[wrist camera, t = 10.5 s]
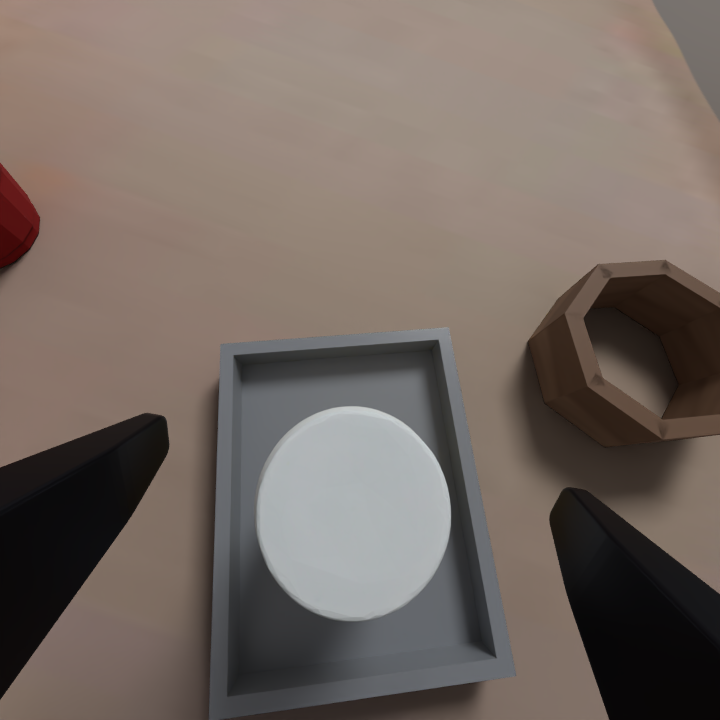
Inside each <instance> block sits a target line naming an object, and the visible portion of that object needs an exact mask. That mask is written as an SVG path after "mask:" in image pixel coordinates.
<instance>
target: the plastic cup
mask: <svg viewBox="0 0 720 720" xmlns="http://www.w3.org/2000/svg"><path fill="white" fill-rule="evenodd" d="M39 222H40V217H39V215H38V213H37V211H36V210H35V208H34V206H33V204H32V203H31V201H30V199H29V198H28V196H27V194H26V193H25V192H24V191H23V189H22V188H21V187H20V186H19V185H18V183H17V182H16V181H15V180H14V179H13V177H12V176H11V175H10V174H9V173H8V171H7V170H6V169H5V168H4V167H3V165H2V164H1V163H0V268H2V267H4V266H6V265H8V264H11V263H13V262H15V261H16V260H17V259H18V258H19V257H20V256H21V255H23V254H24V253H25V252H26V251H27V250H28V249H30V247H31V245H32V244H33V242H34V240H35V238H36V237H37V235H38V233H39Z"/></svg>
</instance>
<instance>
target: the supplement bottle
mask: <svg viewBox="0 0 720 720" xmlns="http://www.w3.org/2000/svg"><path fill="white" fill-rule="evenodd" d="M254 520H255V530H256V535H257V539H258V543H259V546H260V549H261V553H262V556H263V558H264V561H265V563H266V566H267V567H268V569H269V571H270V573H271V574H272V576H273V577H274V579H275V580H276V582H277V583H278V584H279V586H280V587H281V588H282V589H283V590H284V591H285V592H286V593H287V594H288V595H289V596H290V597H291V599H293V600H294V601H295V602H297V603H298V604H299V605H301V606H302V607H304V608H305V609H307V610H309V611H311V612H313V613H315V614H317V615H319V616H322V617H325V618H328V619H332V620H337V621H344V622H358V621H368V620H373V619H377V618H381V617H384V616H386V615H388V614H390V613H392V612H395V611H397V610H399V609H400V608H402V607H403V606H405V605H406V604H408V603H409V602H410V601H411V600H413V599H414V598H415V597H416V596H417V595H418V594H419V593H420V592H421V591H422V590H423V589H424V588H425V587H426V585H427V584H428V583H429V582H430V580H431V579H432V577H433V576H434V574H435V573H436V571H437V569H438V567H439V565H440V563H441V561H442V558H443V556H444V553H445V550H446V547H447V544H448V539H449V534H450V528H451V505H450V497H449V492H448V487H447V483H446V480H445V477H444V474H443V472H442V470H441V467H440V465H439V463H438V461H437V459H436V458H435V456H434V454H433V453H432V451H431V450H430V449H429V448H428V446H427V445H426V444H425V443H424V442H423V441H422V439H421V438H420V437H419V436H418V435H417V434H416V433H415V432H414V431H413V430H412V429H411V428H410V427H408V426H407V425H406V424H404V423H403V422H402V421H400V420H398V419H397V418H395V417H393V416H391V415H389V414H387V413H384V412H381V411H379V410H375V409H372V408H367V407H359V406H345V407H336V408H331V409H327V410H324V411H321V412H318V413H316V414H314V415H311V416H310V417H308V418H306V419H304V420H302V421H301V422H299V423H298V424H297V425H295V426H294V427H293V428H292V429H290V430H289V431H288V432H287V433H286V434H285V435H284V436H283V437H282V438H281V439H280V440H279V442H278V443H277V444H276V446H275V447H274V448H273V450H272V452H271V453H270V455H269V456H268V458H267V460H266V462H265V464H264V466H263V469H262V471H261V474H260V477H259V480H258V484H257V488H256V493H255V501H254Z"/></svg>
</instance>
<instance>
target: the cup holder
mask: <svg viewBox="0 0 720 720" xmlns="http://www.w3.org/2000/svg"><path fill="white" fill-rule="evenodd" d="M607 307H615V308H617V309H618V310H620V311H621V312H623V313H624V314H626V315H627V316H629V317H631V318H632V319H634V320H635V321H637V322H638V323H640V324H641V325H643V326H644V327H646V328H647V329H649V330H650V331H652V332H654V333H655V334H657V335H658V336H660V339H661V341H662V344H663V346H664V349H665V351H666V354H667V356H668V359H669V361H670V364H671V366H672V369H673V371H674V374H675V376H676V379H677V381H678V384H679V386H678V388H677V390H676V392H675V394H674V396H673V397H672V399H671V401H670V403H669V405H668V407H667V409H666V411H665V413H664V415H663V417H662V419H661V418H660V417H658V416H657V415H655V414H654V413H653V412H651V411H650V410H648V409H647V408H645V407H644V406H642V405H641V404H640V403H638V402H637V401H635V400H634V399H632V398H631V397H630V396H628V395H627V394H625V393H624V392H622V391H621V390H619V389H618V388H617V387H615V386H614V385H612V384H611V383H609V382H608V381H607V380H605V379H604V378H603V377H602V374H601V371H600V368H599V365H598V362H597V359H596V356H595V353H594V350H593V347H592V344H591V341H590V338H589V335H588V332H587V329H586V326H585V323H584V320H583V318H584V316H585V315H586V313H587V312H588V310H589V309H593V308H607ZM528 343H529V346H530V350H531V354H532V358H533V361H534V365H535V369H536V372H537V376H538V380H539V384H540V387H541V391H542V395H543V399H544V402H545V404H546V405H548V406H549V407H551V408H552V409H553V410H555V411H556V412H557V413H559V414H560V415H562V416H563V417H564V418H566V419H567V420H568V421H570V422H571V423H572V424H574V425H575V426H577V427H578V428H579V429H581V430H582V431H583V432H585V433H586V434H587V435H589V436H590V437H592V438H593V439H594V440H596V441H597V442H598V443H600V444H601V445H602V446H604V447H612V446H621V445H631V444H641V443H651V442H660V441H672V440H680V439H688V438H696V437H704V436H713V435H720V293H719V292H717V291H716V290H714V289H712V288H711V287H709V286H707V285H706V284H704V283H702V282H701V281H699V280H698V279H696V278H694V277H693V276H691V275H689V274H688V273H686V272H684V271H683V270H681V269H679V268H678V267H676V266H675V265H673V264H671V263H670V262H668V261H666V260H657V261H641V262H625V263H609V264H598V265H597V266H596V267H594V268H593V269H592V270H591V271H590V272H589V273H587V274H586V275H585V276H584V277H583V278H582V279H580V280H579V281H578V282H577V283H576V284H575V285H573V286H572V287H571V288H570V289H569V290H568V291H566V292H565V293H564V294H563V295H562V296H561V297H559V298H558V300H557V301H556V303H555V304H554V305H553V307H552V308H551V310H550V311H549V312H548V314H547V315H546V317H545V318H544V319H543V321H542V322H541V324H540V325H539V326H538V328H537V329H536V331H535V332H534V334H533V335H532V336H531V338H530V339H529V340H528Z"/></svg>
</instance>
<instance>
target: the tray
mask: <svg viewBox="0 0 720 720" xmlns="http://www.w3.org/2000/svg"><path fill="white" fill-rule="evenodd" d="M345 406H359V407H367V408H372V409H375V410H379V411H381V412H384V413H387V414H389V415H391V416H393V417H395V418H397V419H398V420H400V421H402V422H403V423H404V424H406V425H407V426H408V427H410V428H411V429H412V430H413V431H414V432H415V433H416V434H417V435H418V436H419V437H420V438H421V439H422V441H423V442H424V443H425V444H426V445H427V446H428V448H429V449H430V450H431V451H432V453H433V454H434V456H435V458H436V459H437V461H438V463H439V465H440V467H441V470H442V472H443V474H444V477H445V480H446V483H447V487H448V492H449V497H450V505H451V528H450V534H449V539H448V544H447V547H446V550H445V553H444V556H443V558H442V561H441V563H440V565H439V567H438V569H437V571H436V573H435V574H434V576H433V577H432V579H431V580H430V582H429V583H428V584H427V585H426V587H425V588H424V589H423V590H422V591H421V592H420V593H419V594H418V595H417V596H416V597H415V598H414V599H413V600H411V601H410V602H409V603H408V604H406V605H405V606H403V607H402V608H400V609H399V610H397V611H395V612H392V613H390V614H388V615H386V616H384V617H381V618H377V619H373V620H368V621H358V622H344V621H337V620H332V619H328V618H325V617H322V616H319V615H317V614H315V613H313V612H311V611H309V610H307V609H305V608H304V607H302V606H301V605H299V604H298V603H297V602H295V601H294V600H293V599H291V597H290V596H289V595H288V594H287V593H286V592H285V591H284V590H283V589H282V588H281V587H280V586H279V584H278V583H277V582H276V580H275V579H274V577H273V576H272V574H271V573H270V571H269V569H268V567H267V566H266V563H265V561H264V558H263V556H262V553H261V549H260V546H259V543H258V539H257V535H256V530H255V520H254V501H255V493H256V488H257V484H258V480H259V477H260V474H261V471H262V469H263V466H264V464H265V462H266V460H267V458H268V456H269V455H270V453H271V452H272V450H273V448H274V447H275V446H276V444H277V443H278V442H279V440H280V439H281V438H282V437H283V436H284V435H285V434H286V433H287V432H288V431H289V430H290V429H292V428H293V427H294V426H295V425H297V424H298V423H299V422H301V421H302V420H304V419H306V418H308V417H310V416H311V415H314V414H316V413H318V412H321V411H324V410H327V409H331V408H336V407H345ZM513 676H516V672H515V667H514V662H513V657H512V652H511V646H510V641H509V636H508V631H507V626H506V621H505V615H504V610H503V605H502V600H501V595H500V590H499V584H498V579H497V574H496V569H495V564H494V559H493V554H492V548H491V543H490V538H489V533H488V528H487V523H486V517H485V512H484V507H483V502H482V497H481V492H480V486H479V481H478V476H477V471H476V466H475V461H474V456H473V450H472V445H471V440H470V435H469V430H468V425H467V419H466V414H465V409H464V404H463V399H462V394H461V388H460V383H459V378H458V373H457V368H456V363H455V358H454V352H453V347H452V342H451V337H450V332H449V327H447V328H433V329H419V330H406V331H392V332H378V333H365V334H351V335H337V336H324V337H310V338H296V339H283V340H269V341H255V342H242V343H228V344H221V347H220V379H219V411H218V443H217V475H216V507H215V538H214V570H213V602H212V634H211V666H210V697H209V720H221V719H228V718H235V717H242V716H248V715H255V714H262V713H269V712H276V711H282V710H289V709H296V708H303V707H310V706H316V705H323V704H330V703H337V702H343V701H350V700H357V699H364V698H371V697H377V696H384V695H391V694H398V693H405V692H411V691H418V690H425V689H432V688H439V687H445V686H452V685H459V684H466V683H472V682H479V681H486V680H493V679H500V678H506V677H513Z"/></svg>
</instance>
